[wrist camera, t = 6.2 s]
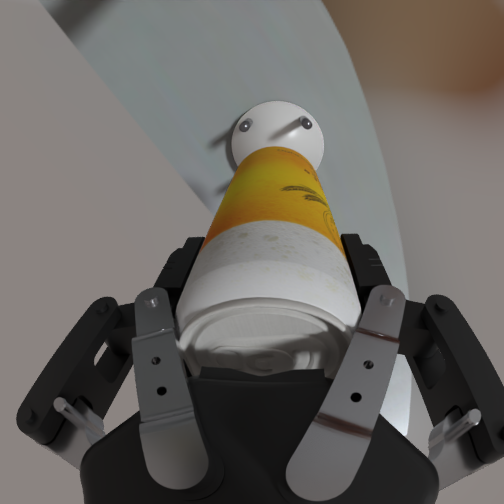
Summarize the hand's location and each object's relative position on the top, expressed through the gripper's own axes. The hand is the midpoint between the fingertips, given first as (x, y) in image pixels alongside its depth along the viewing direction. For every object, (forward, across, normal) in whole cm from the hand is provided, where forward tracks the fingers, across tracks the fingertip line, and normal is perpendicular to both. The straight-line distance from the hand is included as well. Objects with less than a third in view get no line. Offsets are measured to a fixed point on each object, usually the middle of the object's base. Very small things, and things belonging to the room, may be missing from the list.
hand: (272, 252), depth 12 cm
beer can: (+9, 0, 0) cm, 9 cm away
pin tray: (+24, 0, 0) cm, 24 cm away
